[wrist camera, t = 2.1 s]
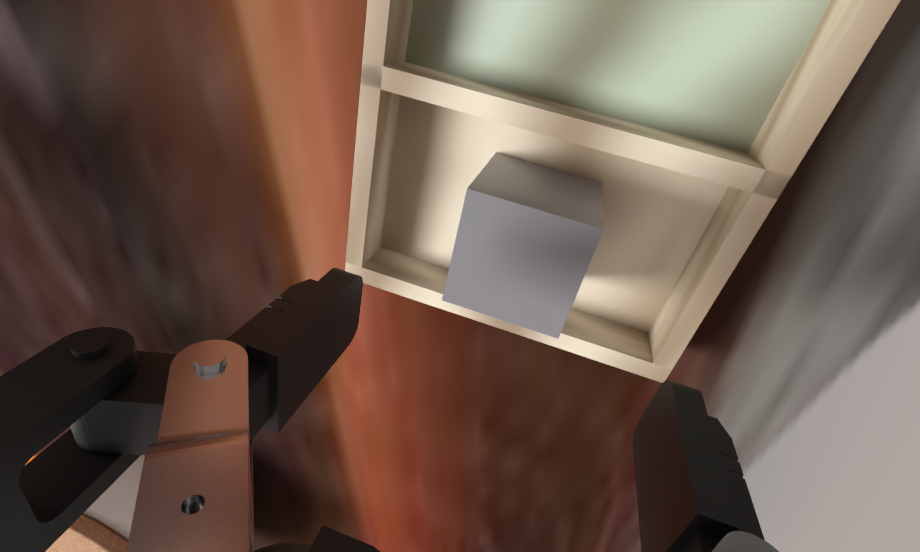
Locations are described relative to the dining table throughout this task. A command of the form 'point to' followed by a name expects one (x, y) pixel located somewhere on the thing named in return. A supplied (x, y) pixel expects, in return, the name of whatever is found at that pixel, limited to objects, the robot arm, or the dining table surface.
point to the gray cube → (524, 243)
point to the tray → (597, 141)
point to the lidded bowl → (105, 518)
